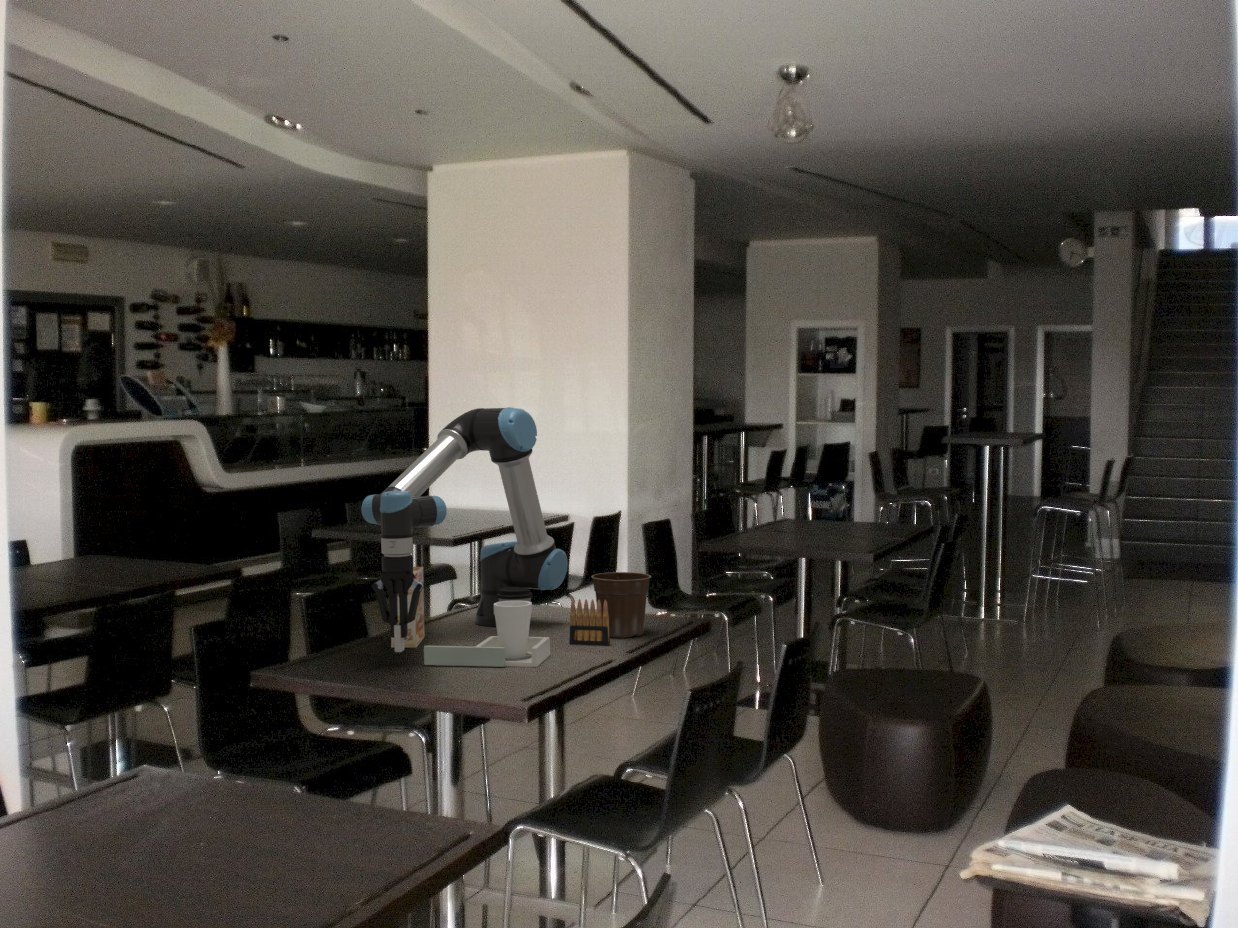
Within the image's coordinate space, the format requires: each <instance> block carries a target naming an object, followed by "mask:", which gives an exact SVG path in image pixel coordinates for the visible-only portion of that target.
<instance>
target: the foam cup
mask: <svg viewBox="0 0 1238 928" xmlns="http://www.w3.org/2000/svg"><path fill="white" fill-rule="evenodd" d="M532 603H533V602H532V601H531V602H529V601H502V602H497V603H494V614H495V620H496V626H495V627H496V632H497V636H498V640H499V647H505V658H507V659H516V658H523V657H526V654H527V646H528V637H530V635H529V634H530V626H531V625H530V624H531V618H532V617H531V616H532V615H531V614H532V613H533V604H532Z"/></svg>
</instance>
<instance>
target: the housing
mask: <svg viewBox="0 0 1238 928" xmlns="http://www.w3.org/2000/svg"><path fill="white" fill-rule="evenodd" d="M475 647H499V640H498V635H494V636H493V635H491V636H489V637H487V638H485V639H484V640H483V641H481V642H480V643H479V644H477V645H475ZM549 656H551V637H550V636H528V646H527V654H526V657H523V658H516V659H507V658H505V666H504V667H516V668H517V667H521V668H522V667H523V668H525V667H527V668H537V667H538V666H540V665H541V664H542V663H543V662H544V661H545V660H546V659H548V658H549Z"/></svg>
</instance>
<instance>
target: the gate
mask: <svg viewBox="0 0 1238 928" xmlns="http://www.w3.org/2000/svg"><path fill="white" fill-rule="evenodd" d="M423 663H424V666H449V667H450V666H454V667H491V668H493V667H496V668H498V667H500V668H501V667H502V668H504V667H506V666H505V647H476V646H468V645H467V646H463V645H460V646H459V645H458V646H457V645H424V646H423Z"/></svg>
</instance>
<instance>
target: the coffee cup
mask: <svg viewBox="0 0 1238 928" xmlns="http://www.w3.org/2000/svg"><path fill="white" fill-rule="evenodd" d="M497 598H499V602H502V601H529V602H532V601H531V600H532V598H533V592H531V590H530V589H529V588H526V587H506V588H501V589H499V593H498V594H497Z"/></svg>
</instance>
